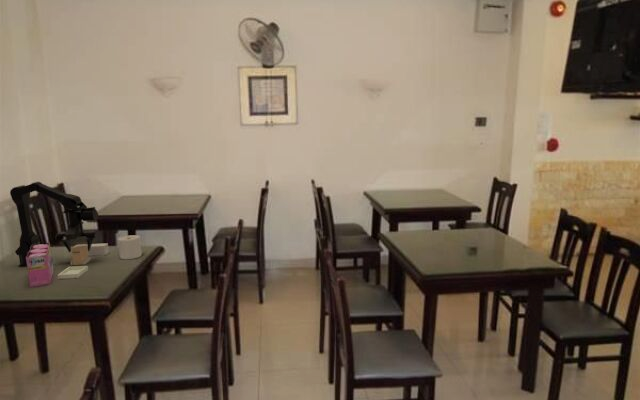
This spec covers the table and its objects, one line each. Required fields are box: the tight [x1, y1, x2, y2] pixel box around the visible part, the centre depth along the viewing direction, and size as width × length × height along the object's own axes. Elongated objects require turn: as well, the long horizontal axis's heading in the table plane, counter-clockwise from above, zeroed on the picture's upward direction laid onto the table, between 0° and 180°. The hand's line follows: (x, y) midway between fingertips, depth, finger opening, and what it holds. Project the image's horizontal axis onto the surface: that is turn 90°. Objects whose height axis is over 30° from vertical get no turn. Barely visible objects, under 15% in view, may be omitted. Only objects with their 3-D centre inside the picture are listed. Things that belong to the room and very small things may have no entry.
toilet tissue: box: [117, 234, 143, 260], centre depth 239 cm, size 11×12×10 cm
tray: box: [57, 265, 89, 280], centre depth 215 cm, size 9×11×2 cm
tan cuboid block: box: [71, 244, 89, 266], centre depth 231 cm, size 4×8×8 cm, turn 5°
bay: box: [70, 242, 110, 266], centre depth 238 cm, size 16×20×5 cm
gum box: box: [26, 241, 55, 288], centre depth 211 cm, size 24×8×14 cm, turn 26°
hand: (79, 251), depth 231 cm, fingers open, 9 cm apart
